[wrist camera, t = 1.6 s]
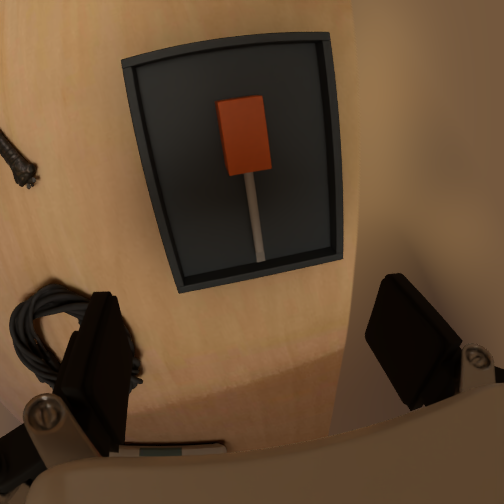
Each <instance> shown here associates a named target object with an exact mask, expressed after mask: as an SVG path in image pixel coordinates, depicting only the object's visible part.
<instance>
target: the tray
mask: <svg viewBox="0 0 504 504" xmlns="http://www.w3.org/2000/svg"><path fill="white" fill-rule="evenodd" d="M121 64H122V69H123V75H124V81H125V87H126V92H127V97H128V103H129V108H130V113H131V118H132V122H133V127H134V132H135V136H136V141H137V145H138V150H139V154H140V158H141V163H142V167H143V171H144V175H145V179H146V183H147V187H148V191H149V195H150V199H151V202H152V206H153V210H154V213H155V217H156V221H157V224H158V228H159V231H160V235H161V238H162V242H163V245H164V249H165V252H166V255H167V258H168V262H169V265H170V268H171V271H172V275H173V278H174V281H175V284H176V287H177V290H178V293H179V294H180V293H185V292H190V291H195V290H200V289H205V288H210V287H215V286H220V285H225V284H230V283H235V282H239V281H244V280H249V279H254V278H259V277H263V276H268V275H273V274H277V273H282V272H287V271H291V270H296V269H300V268H305V267H309V266H314V265H318V264H323V263H327V262H332V261H336V260H341V259H343V180H342V157H341V139H340V125H339V112H338V101H337V90H336V81H335V72H334V63H333V55H332V48H331V41H330V33H329V32H285V33H267V34H254V35H244V36H235V37H227V38H219V39H212V40H206V41H200V42H194V43H189V44H184V45H179V46H174V47H169V48H165V49H160V50H156V51H152V52H148V53H144V54H140V55H136V56H133V57H129V58H126V59H122V60H121ZM252 95H261V96H263V103H264V110H265V118H266V125H267V133H268V141H269V149H270V157H271V165H272V168H271V169H267V170H261V171H255V172H253V175H254V182H255V189H256V197H257V204H258V211H259V218H260V226H261V233H262V240H263V248H264V254H265V261H262V262H257V260H256V253H255V246H254V239H253V232H252V226H251V219H250V213H249V206H248V199H247V193H246V186H245V180H244V174H238V175H233V176H229V174H228V171H227V169H226V166H225V161H224V155H223V149H222V143H221V137H220V131H219V125H218V119H217V113H216V107H215V101H219V100H225V99H231V98H237V97H244V96H252Z"/></svg>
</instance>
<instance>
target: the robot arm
mask: <svg viewBox="0 0 504 504" xmlns="http://www.w3.org/2000/svg"><path fill="white" fill-rule="evenodd" d="M365 339H366V341H367V343H368V345H369V346H370V348H371V350H372V351H373V353H374V354H375V356H376V358H377V359H378V361H379V363H380V365H381V366H382V368H383V370H384V371H385V373H386V374H387V376H388V378H389V380H390V381H391V383H392V385H393V386H394V388H395V390H396V392H397V393H398V395H399V397H400V398H401V400H402V402H403V403H404V404H406V405H407V406H408V407H409V409H410V411H412V410H415V409H418V408H420V407H422V406H423V404H424V405H425V407H424V408H421V409H419V410H416V411H413V412H410V413H408V414H405V415H402V416H399V417H396V418H393V419H390V420H387V421H384V422H380V423H377V424H373V425H370V426H367V427H364V428H360V429H357V430H352V431H349V432H345V433H341V434H337V435H333V436H328V437H324V438H320V439H315V440H310V441H305V442H300V443H295V444H289V445H283V446H277V447H271V448H264V449H257V450H250V451H241V452H232V453H221V454H207V455H190V456H159V457H144V456H139V457H109V452H114V453H119V444H124V442H125V430H126V419H127V408H128V398H129V389H130V381H131V373H132V365H133V356H132V351H131V348H130V344H129V341H128V337H127V334H126V330H125V327H124V323H123V319H122V315H121V311H120V307H119V303H118V299H117V297H116V296H112V294H111V292H93V294H92V296H91V299H90V301H89V304H88V307H87V309H86V312H85V314H84V317H83V320H82V323H81V325H80V328H79V331H74V332H73V333H72V335H71V337H70V340H69V343H68V346H67V348H66V351H65V354H64V357H63V360H62V363H61V366H60V369H59V372H58V376H57V379H56V382H55V385H54V389H53V392H52V394H50V393H44V394H40V395H37V396H35V397H34V398H32V399H31V400H30V401H29V402H28V403H27V404H26V406H25V408H24V411H23V421H24V423H23V424H22V425H20V426H19V427H17V428H15V429H14V430H12V431H11V432H9V433H8V434H6V435H5V436H3V437H1V438H0V504H504V369H501V368H498V367H495V366H494V360H493V357H492V356H491V354H490V353H489V351H487V349H485V348H484V347H482V346H480V345H478V344H467V345H465V346H464V347H463V349H461V348H460V347H459V346H460V345H461V343H462V340H461V338H460V337H459V336H458V335H457V334H456V332H455V331H454V330H453V329H452V328H451V327H450V326H449V324H448V323H447V322H446V321H445V320H444V319H443V317H442V316H441V315H440V314H439V313H438V312H437V311H436V310H435V309H434V307H433V306H432V305H431V304H430V303H429V302H428V301H427V300H426V299H425V297H424V296H423V295H422V294H421V293H420V292H419V291H418V290H417V289H416V288H415V287H414V286H413V285H412V284H411V283H410V282H409V281H408V279H407V278H406V277H405V276H404V275H403V274H401V273H397V274H388V275H386V276H385V278H384V279H383V280H382V281H381V284H380V287H379V291H378V294H377V298H376V301H375V304H374V308H373V311H372V314H371V317H370V320H369V323H368V326H367V329H366V332H365Z"/></svg>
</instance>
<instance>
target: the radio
mask: <svg viewBox="0 0 504 504" xmlns="http://www.w3.org/2000/svg"><path fill="white" fill-rule="evenodd" d="M221 453H227V451H226V448H225V446H224V445H220V444H219V443H215V444H204V445H185V446H127V445H119V453H114V452H109V457H139V456H144V457H159V456H190V455H207V454H221Z"/></svg>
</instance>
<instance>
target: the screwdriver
mask: <svg viewBox="0 0 504 504" xmlns="http://www.w3.org/2000/svg"><path fill="white" fill-rule="evenodd" d="M215 107H216V113H217V119H218V125H219V131H220V137H221V143H222V149H223V155H224V161H225V166H226V169H227V171H228V174H229V176H233V175H238V174H244V180H245V186H246V193H247V199H248V206H249V213H250V219H251V226H252V232H253V239H254V246H255V253H256V260H257V262H262V261H265V254H264V248H263V240H262V233H261V226H260V218H259V211H258V204H257V197H256V189H255V182H254V175H253V172H255V171H261V170H267V169H271V168H272V165H271V157H270V149H269V141H268V133H267V125H266V118H265V110H264V103H263V96H261V95H252V96H244V97H237V98H231V99H225V100H219V101H215Z"/></svg>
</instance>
